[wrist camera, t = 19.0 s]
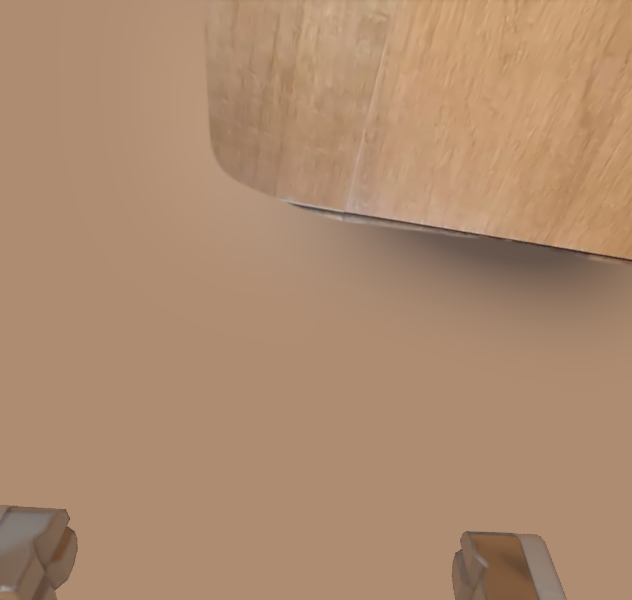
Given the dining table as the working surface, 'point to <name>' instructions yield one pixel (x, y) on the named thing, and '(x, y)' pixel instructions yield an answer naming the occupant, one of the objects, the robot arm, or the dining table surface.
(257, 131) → the dining table surface
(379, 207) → the dining table surface
